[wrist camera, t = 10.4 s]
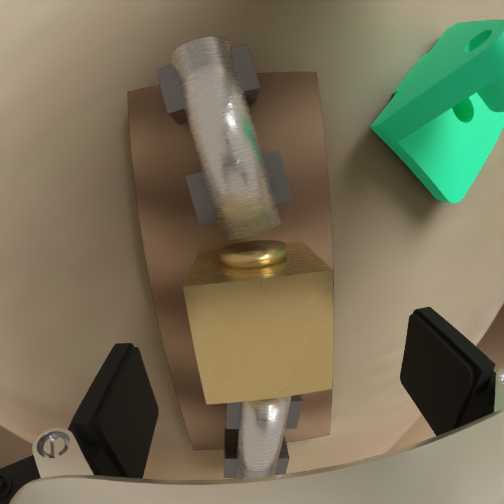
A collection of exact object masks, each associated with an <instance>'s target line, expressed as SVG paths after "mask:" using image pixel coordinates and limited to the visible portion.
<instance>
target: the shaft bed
mask: <svg viewBox="0 0 504 504" xmlns="http://www.w3.org/2000/svg"><path fill="white" fill-rule="evenodd" d="M256 75H257V78H258V81H259V84H260V87H261V88H260V91H259V94H258V97H257V100H256V103H255V104H251V105H248V107H249V110H250V114H251V117H252V121H253V124H254V127H255V131H256V134H257V138H258V141H259V145H260V148H261V152H262V154H265V153H269V152H273V151H277V150H279V152H280V155H281V159H282V162H283V166H284V170H285V173H286V177H287V181H288V185H289V188H290V192H291V196H292V201H289V202H285V203H281V204H278V205H276V206H277V210H278V214H279V217H280V221H281V223H280V224H279V225H278V226H276V227H274V228H272V229H270V230H267V231H265V232H262V233H259V234H256V235H252V236H248V237H244V238H240V239H234V240H223V239H222V237H221V234H220V231H219V227H218V224H217V222H214V223H211V224H208V225H204V226H201V227H200V224H199V221H198V218H197V214H196V211H195V208H194V204H193V201H192V198H191V194H190V191H189V188H188V184H187V181H186V176H189V175H192V174H195V173H198V172H202V169H201V166H200V162H199V159H198V155H197V152H196V148H195V145H194V141H193V138H192V134H191V131H190V127H189V124H188V122H187V123H183V124H180V125H179V124H178V123H177V122H176V121H175V120H174V119H173V118H172V117H171V116H170V115H168V113H167V109H166V105H165V101H164V98H163V94H162V90H161V86H160V85H158V86H153V87H147V88H142V89H138V90H133V91H128V113H129V129H130V142H131V154H132V164H133V174H134V183H135V191H136V199H137V207H138V214H139V222H140V228H141V235H142V241H143V247H144V253H145V259H146V265H147V270H148V276H149V281H150V286H151V291H152V296H153V301H154V306H155V311H156V315H157V320H158V325H159V329H160V333H161V338H162V342H163V346H164V350H165V354H166V358H167V362H168V366H169V370H170V373H171V377H172V381H173V384H174V388H175V392H176V395H177V399H178V402H179V405H180V409H181V412H182V415H183V419H184V422H185V425H186V428H187V431H188V435H189V438H190V441H191V444H192V447H193V450H214V449H224V434H225V427H226V403H221V404H206V400H205V396H204V392H203V387H202V383H201V378H200V373H199V369H198V364H197V359H196V354H195V349H194V344H193V339H192V334H191V329H190V324H189V318H188V313H187V307H186V302H185V296H184V290H183V285H184V283H185V281H186V278H187V276H188V274H189V271H190V269H191V267H192V265H193V262H194V260H195V258H196V256H197V253H198V252H202V251H212V250H220V249H221V248H223V247H225V246H227V245H231V244H235V243H239V242H245V241H254V240H276V241H281V242H284V243H287V242H297V241H303V242H304V243H305V244H306V245H307V246H308V247H309V248H310V249H311V250H313V251H314V252H315V253H316V254H317V255H318V256H319V257H320V258H321V259H322V260H323V261H324V262H325V263H326V264H327V265H328V266H330V267H331V268H332V269H333V248H332V226H331V208H330V193H329V180H328V168H327V156H326V146H325V136H324V127H323V118H322V110H321V102H320V94H319V87H318V79H317V72H275V73H256ZM333 283H334V281H333ZM333 353H334V343H333ZM332 385H333V379H332ZM301 397H302V400H303V402H302V407H301V411H300V416H299V420H298V425H297V429H285V431H284V435H285V440H286V442H293V441H299V440H305V439H311V438H316V437H321V436H326V435H330V422H331V406H332V389H328V390H323V391H317V392H312V393H306V394H301Z"/></svg>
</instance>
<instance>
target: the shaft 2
mask: <svg viewBox="0 0 504 504" xmlns="http://www.w3.org/2000/svg"><path fill="white" fill-rule="evenodd" d="M302 402H303V400H302V397H301V394H299V395H293V396H286V397H279V398H271V399H263V400H254V401H244V402H233V403H226V427H225V434H224V478H235V479H243V478H255V477H266V476H275V475H283V474H285V473H286V469H287V465H288V462H289V454H288V450H287V445H286V440H285V435H284V431H285V429H297V425H298V420H299V416H300V411H301V407H302Z"/></svg>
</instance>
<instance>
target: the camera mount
mask: <svg viewBox="0 0 504 504" xmlns="http://www.w3.org/2000/svg"><path fill="white" fill-rule="evenodd" d="M392 94H393V95H394V97H393V98H392V100H391V101H390V102H389V103H388V105H387V106H386V107H385V108H384V110H383V111H382V112H381V113H380V115H379V116H378V117H377V118H376V120H375V121H374V122H373V123H372V125H371V126H370V128H371V129H372V130H373V131H374V132H375V133H376V134H377V135H378V136H379V137H380V138H381V139H382V140H383V141H384V142H385V143H386V144H387V145H388V146H389V147H390V148H391V149H392V150H393V151H394V152H395V153H396V155H397V156H398V157H399V158H400V159H401V160H402V161H403V162H404V163H405V164H406V165H407V166H408V167H409V169H410V170H411V171H412V172H413V173H414V174H415V175H416V176H417V178H418V179H419V180H420V181H421V182H422V183H423V184H424V186H425V187H426V188H427V189H428V190H429V192H430V193H431V194H432V195H433V196H434V197H435V198H436V199H437V200H439V201H445V202H450V203H458V202H460V201H461V200H462V199H463V197H464V196H465V194H466V193H467V191H468V189H469V188H470V186H471V185H472V183H473V181H474V180H475V178H476V176H477V175H478V173H479V171H480V170H481V168H482V166H483V164H484V163H485V161H486V159H487V157H488V156H489V154H490V152H491V150H492V148H493V147H494V145H495V143H496V141H497V139H498V137H499V135H500V133H501V131H502V130H503V128H504V20H486V21H473V22H463V23H457V24H455V25H453V26H452V27H450V28H448V29H447V30H446V31H445V32H444V34H443V35H442V36H441V37H440V39H439V40H438V41H437V43H436V44H435V45H434V46H433V48H432V49H431V50H430V52H429V53H427V54H425V55H423V56H422V57H421V58H420V60H419V61H418V62H417V63H416V65H415V66H414V67H413V68H412V70H411V71H410V72H409V73H408V75H407V76H406V77H405V78H404V80H403V81H402V82H401V83H400V85H399V86H398V87H397V88H396V90H395V91H394V92H393V93H392ZM452 108H453V109H452ZM453 111H454V112H453Z"/></svg>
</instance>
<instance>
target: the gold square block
mask: <svg viewBox="0 0 504 504" xmlns="http://www.w3.org/2000/svg"><path fill="white" fill-rule="evenodd" d="M183 290H184V296H185V302H186V307H187V313H188V318H189V324H190V329H191V334H192V339H193V344H194V349H195V354H196V359H197V364H198V369H199V373H200V378H201V383H202V387H203V392H204V396H205V400H206V404H221V403H233V402H244V401H254V400H263V399H271V398H279V397H286V396H293V395H299V394H306V393H312V392H317V391H323V390H328V389H332V379H333V343H334V283H333V269H332V268H331V267H330V266H328V265H327V264H326V263H325V262H324V261H323V260H322V259H321V258H320V257H319V256H318V255H317V254H316V253H315V252H314V251H313V250H311V249H310V248H309V247H308V246H307V245H306V244H305V243H304V242H303V241H297V242H287V243H284V242H281V241H276V240H254V241H245V242H239V243H235V244H231V245H227V246H225V247H223V248H221V249H220V250H212V251H202V252H198V253H197V256H196V258H195V260H194V262H193V265H192V267H191V269H190V271H189V274H188V276H187V278H186V281H185V283H184V285H183Z"/></svg>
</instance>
